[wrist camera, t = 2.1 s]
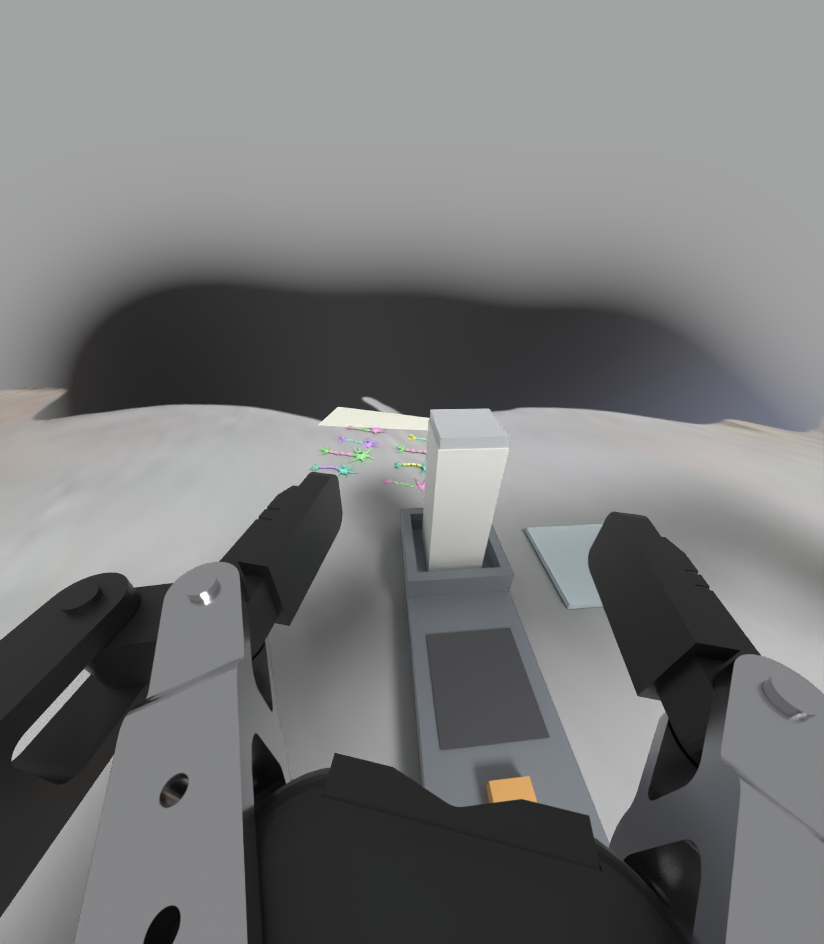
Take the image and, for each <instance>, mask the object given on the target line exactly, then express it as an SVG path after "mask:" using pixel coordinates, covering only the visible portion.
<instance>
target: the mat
mask: <svg viewBox="0 0 824 944" xmlns="http://www.w3.org/2000/svg"><path fill="white" fill-rule="evenodd" d="M602 525H603V524H585V525H566V526H547V527H528V528H526V531H525V532H526V534H527V536H528V537H529V539H530V541H531V543H532V545H533V547H534V548H535V550H536V552H537V554H538V556H539V557H540V559H541V561H542V563H543V565H544V567H545V568H546V570H547V572H548V574H549V576H550V578H551V579H552V581H553V583H554V585H555V587H556V588H557V590H558V592H559V594H560V596H561V598H562V599H563V601H564V603H565V605H566V607H567V609H576V608H589V607H602V606H603V605H602V602H601V599H600V597H599V594H598V592H597V589H596V586H595V584H594V581H593V579H592V576H591V573H590V571H589V567H588V554H589V550H590V548H591V546H592V544H593V542H594V540H595V538H596V537H597V535H598V533H599V531H600V529H601V527H602Z"/></svg>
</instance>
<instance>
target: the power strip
mask: <svg viewBox="0 0 824 944" xmlns="http://www.w3.org/2000/svg"><path fill="white" fill-rule="evenodd" d="M422 525H423V508H413V509H402V511H400V529H401V541H402V553H403V565H404V577H405V589H406V601H407V613H408V625H409V637H410V649H411V661H412V673H413V685H414V697H415V709H416V721H417V733H418V745H419V757H420V769H421V781H422V787H424V788H425V789H427V790H428V791H430V792H431V793H433V794H434V795H436V796H437V797H439V798H441V799H442V800H444V801H445V802H447V803H448V804H450V805H452V806H456V807H465V806H472V805H480V804H487V803H495V802H502V801H510V800H518V799H524V800H528V801H532V802H536V803H541V804H545V805H549V806H553V807H557V808H561V809H565V810H569V811H573V812H577V813H581V814H585V815H589V817H590V821H591V826H592V831H593V835H594V837H595V838H597V839H598V840H599V841H600V842H602V843H603V844H604V845H606V846H607V847H608V848H609V845H610V844H609V842H608V839H607V836H606V834H605V831H604V829H603V826H602V824H601V821H600V819H599V816H598V814H597V811H596V809H595V806H594V804H593V801H592V799H591V796H590V794H589V791H588V789H587V786H586V784H585V781H584V779H583V776H582V774H581V771H580V769H579V766H578V764H577V761H576V759H575V756H574V754H573V751H572V749H571V746H570V744H569V741H568V739H567V736H566V734H565V731H564V728H563V726H562V723H561V721H560V718H559V716H558V713H557V711H556V708H555V706H554V703H553V701H552V698H551V696H550V693H549V691H548V688H547V686H546V683H545V681H544V678H543V676H542V673H541V671H540V668H539V666H538V663H537V661H536V658H535V656H534V653H533V651H532V648H531V646H530V643H529V641H528V638H527V636H526V633H525V631H524V628H523V626H522V623H521V620H520V618H519V615H518V613H517V610H516V608H515V605H514V603H513V600H512V598H511V595H510V593H509V588H510V585H511V582H512V579H513V576H514V574H513V571H512V569H511V567H510V565H509V562H508V560H507V558H506V555H505V553H504V551H503V548H502V546H501V544H500V542H499V539H498V537H497V535H496V532H495V530H494V528H493V525H491V529H490V533H489V537H488V542H487V546H486V550H485V555H484V559H483V563H482V567H481V568H479V569H463V570H448V571H432V572H427V566H426V560H425V554H424V547H423V541H422Z"/></svg>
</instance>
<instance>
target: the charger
mask: <svg viewBox="0 0 824 944" xmlns="http://www.w3.org/2000/svg"><path fill="white" fill-rule="evenodd" d="M430 411H431V412H430V420H428V435H427V453H426V471H425V489H424V507H423V525H422V541H423V547H424V554H425V560H426V566H427V572H432V571H448V570H463V569H479V568H481V567H482V563H483V559H484V555H485V550H486V546H487V542H488V537H489V533H490V529H491V525H492V520H493V516H494V512H495V508H496V503H497V499H498V495H499V490H500V486H501V482H502V478H503V473H504V469H505V465H506V460H507V456H508V452H509V448H508V442H509V437H510V436H509V435H508V433H507V432H506V431H505V429H504V428H503V427H502V425H501V424H500V423H499V421H498V420H497V419H496V418H495V416H494V415H493V414H492V412H491V411H490V410H489V409H447V410H446V409H442V410H430Z"/></svg>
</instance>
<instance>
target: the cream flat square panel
mask: <svg viewBox="0 0 824 944" xmlns="http://www.w3.org/2000/svg"><path fill="white" fill-rule="evenodd" d="M428 420H430V418H424V417H415V416H408V415H400V414H392V413H384V412H375V411H366V410H359V409H351V408H343V407H337V408H336V409H335V410H334V411H333V412H332V413H331V414H330V415H329V416H328V417H327V418H325V419H324V420H323V421H322V422H321V423H320V424H319V425H324V426H343V427H348V428H347V429H349V428H350V429H352V428H354V427H355V428H354V429H359V430H364V431H372V432H373V433H375V437H376V433H378V432H386V431H381V430H379V429H381V428H385V429H387V428H390V429H412V430H428ZM357 427H368V428H372V430H366V429H365V428H357ZM383 430H384V429H383ZM411 435H412V434H411ZM411 435H410V436H411ZM339 437H340V438H341V439H340V440H338V441H340V442H342V441H344V440H345V441H350V442H355V443H360V444H363V445H361V446H363V447H364V446H367V448H368V447H369V446H376V445H378V444H374V445H372V444H373V443H377V442H375V441H376V440H375V441H372V442H370V441H369V439H368V438H367V439H368V441H365V439H364V442H361V441H359V442H358V441H354V440H352V439H350V440H349V439H345V438H343V437H341V436H339ZM411 437H413V438H411V439H412V440H413V439H420V440H426V441H427V439H423V438H417V437H416V438H415V436H413V435H412V436H411ZM377 439H378V438H377ZM408 440H409V439H408ZM410 441H411V440H410ZM358 447H359V446H358ZM377 447H378V446H377ZM396 447H397V448H400V450H398V452H402V451H404V450H405V451H411V452H414V453H415V452H419V453H421V452H424V453H427V451H422V450H417V451H416V450H415V449H405V447H404V446H403V445H402V447H401V446H399V447H398V446H396ZM328 448H329V447H328ZM328 448H325V447H324V449H322V448H320V449H321V450H324V451H325V452H323V454H325V453H328V452H329V453H334V454H336V455H339V454H342V455H345V454H346V455H348V456H355V457H356V458H352V459H354V460H352V461H355V460H357V459H359V460H362V461H363V462H364V459H365V458H366V457H370V458H371V459H372V458H373V457H371V456H370V455H368V454H367V453H368V452H369V451H370V450H371V449H372V448H370V449H369V450H368V451H367V452H361V450H360V447H359V451H358V452H357V451H356V450H355V448H354V451H355V452H356V454H353V453H346V452H341V453H340V452H338V451H329V450H330V448H329V449H328ZM326 449H327V450H326ZM321 454H322V453H321ZM425 460H426V459H425ZM425 460H424V462H425ZM352 461H349V462H352ZM363 462H362V465H363ZM342 464H343V463H342ZM401 465H403V466H406V465H407V466H409V465H414V466H416V465H417V466H419V467H423V469H424V470H423V472H424V471H426V462H425V465H420V464H416V463H412V464H410V463H406V464H405V463H403V464H401V463H399V462H398V463H397V464H396V465H395V466H397V467H399V466H401ZM348 466H349V465H348ZM395 466H394V467H395ZM312 467H313V468H312V470H314V469H318V468H319V467H320V468H328V467H329V468H335V469H338V470H339V471H340V473H338V474H337V475H339V474H341V473H342V474H346V475H347V473H348V472H350V473H353V472H351V471H348V470H352V469H350V468H351V467H352V466H351V467H349V468H347V466H344V464H343V467H341V468H338V467H336V466H335V467H334V466H328V465H327V466H317V465H316V464H315V465H314V466H312ZM309 470H310V469H309ZM423 472H422V473H423ZM422 475H423V474H422ZM415 479H416V478H415ZM416 480H417V479H416ZM384 481H385V480H384ZM390 482H392V483H395V484H401V485H404V484H405V485H406V486H410V487H417V488H419V489H421V490H422V491H423V495H424V490H423V489H425V480H424V483H420V482H418V480H417V486H414V485H410V484H408V483H398V482H393V481H391V479H390V480H389V478H388V479H387V480H386V482H385V483H384V484H386V483H390Z"/></svg>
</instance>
